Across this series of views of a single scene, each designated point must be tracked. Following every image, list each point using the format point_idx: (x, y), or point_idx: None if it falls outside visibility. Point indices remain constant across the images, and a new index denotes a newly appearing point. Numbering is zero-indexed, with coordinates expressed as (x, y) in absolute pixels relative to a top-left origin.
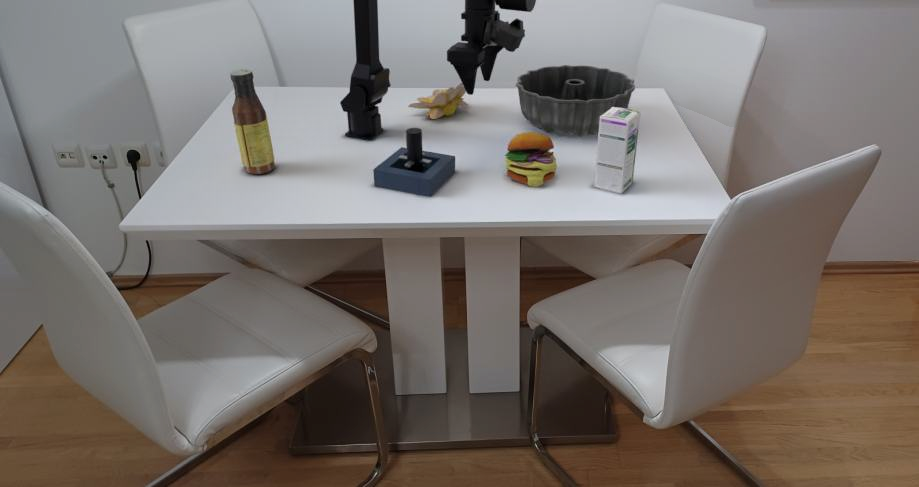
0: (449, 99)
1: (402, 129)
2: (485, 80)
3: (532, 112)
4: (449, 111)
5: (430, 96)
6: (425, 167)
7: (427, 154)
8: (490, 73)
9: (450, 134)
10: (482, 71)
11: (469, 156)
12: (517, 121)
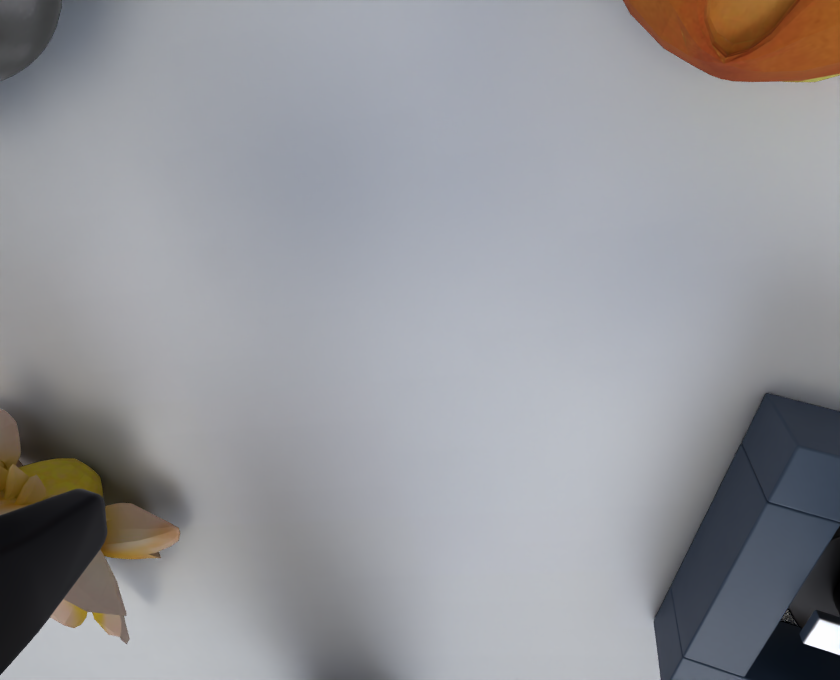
0: None
1: (289, 622)
2: (106, 529)
3: (7, 15)
4: (89, 484)
5: None
6: None
7: (774, 588)
8: (7, 546)
9: (278, 449)
10: (14, 648)
11: (526, 340)
12: (8, 149)
